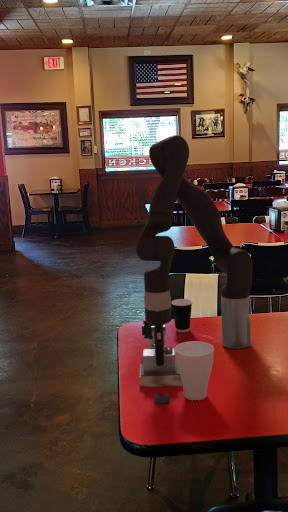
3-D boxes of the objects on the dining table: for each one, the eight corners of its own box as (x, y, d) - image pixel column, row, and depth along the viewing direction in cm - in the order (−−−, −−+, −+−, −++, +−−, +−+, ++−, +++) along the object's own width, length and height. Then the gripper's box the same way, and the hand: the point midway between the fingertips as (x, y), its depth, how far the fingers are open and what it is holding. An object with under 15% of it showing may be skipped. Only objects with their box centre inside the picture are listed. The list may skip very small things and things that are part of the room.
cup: (175, 387, 137) (173, 341, 134) (212, 386, 136) (212, 340, 134) (176, 405, 126) (175, 356, 124) (217, 404, 126) (216, 355, 123)
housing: (143, 372, 139) (142, 352, 138) (144, 365, 144) (143, 346, 143) (175, 371, 139) (174, 351, 138) (174, 364, 144) (174, 345, 143)
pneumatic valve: (165, 341, 171) (164, 308, 169) (156, 354, 160) (155, 319, 158) (150, 340, 173) (149, 308, 171) (140, 353, 162) (139, 318, 160)
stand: (180, 372, 146) (180, 361, 146) (182, 385, 137) (181, 374, 137) (140, 373, 147) (140, 362, 146) (139, 387, 138) (139, 375, 137)
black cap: (171, 400, 130) (171, 394, 130) (164, 406, 127) (164, 401, 126) (158, 396, 132) (158, 391, 132) (151, 403, 129) (151, 397, 128)
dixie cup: (167, 331, 181) (166, 302, 179) (180, 325, 187) (179, 297, 185) (185, 335, 177) (184, 306, 174) (197, 328, 183) (196, 300, 180)
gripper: (144, 298, 145) (147, 350, 148) (144, 313, 131) (146, 370, 134) (170, 297, 145) (171, 349, 148) (171, 312, 131) (173, 369, 134)
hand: (159, 359), depth 141 cm, fingers open, 8 cm apart
